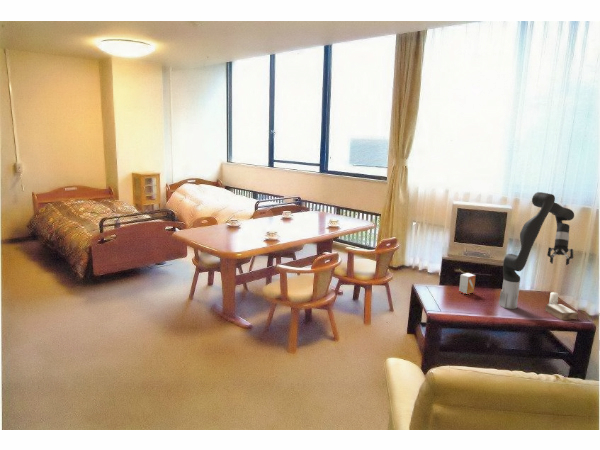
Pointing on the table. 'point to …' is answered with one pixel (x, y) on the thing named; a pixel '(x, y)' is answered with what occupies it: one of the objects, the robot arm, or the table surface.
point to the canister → (553, 298)
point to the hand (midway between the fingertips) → (559, 264)
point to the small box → (467, 283)
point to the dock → (561, 311)
